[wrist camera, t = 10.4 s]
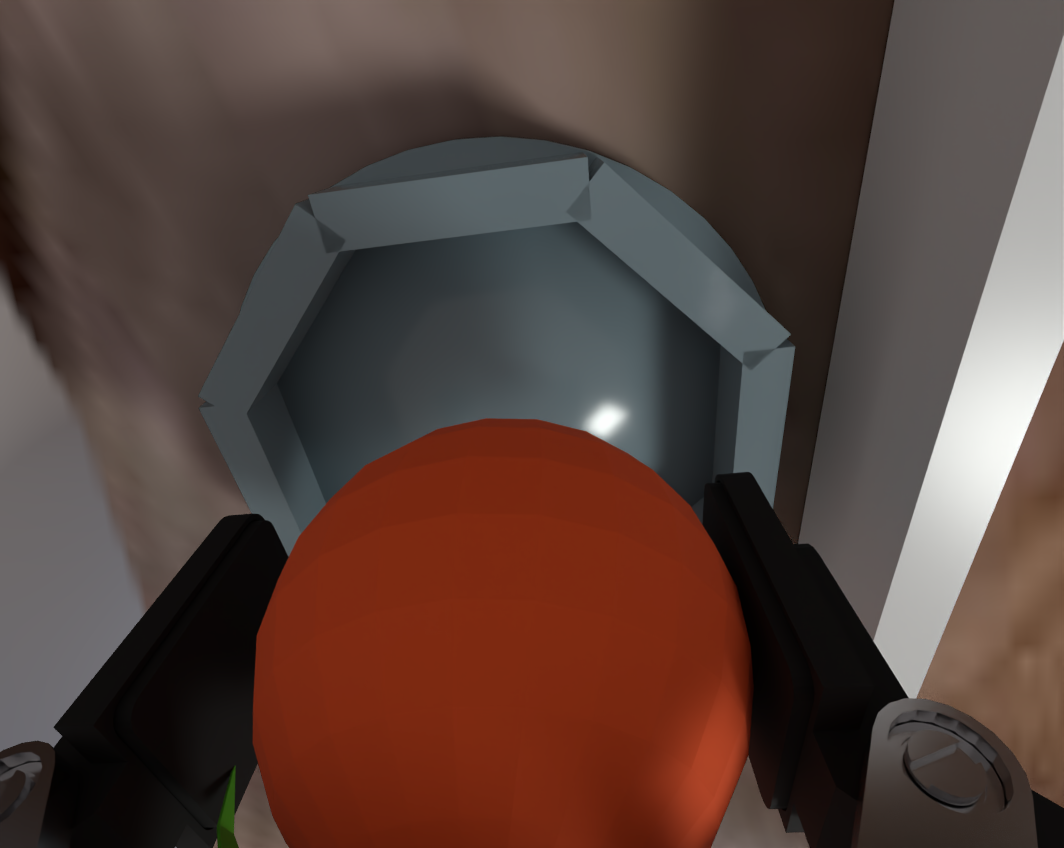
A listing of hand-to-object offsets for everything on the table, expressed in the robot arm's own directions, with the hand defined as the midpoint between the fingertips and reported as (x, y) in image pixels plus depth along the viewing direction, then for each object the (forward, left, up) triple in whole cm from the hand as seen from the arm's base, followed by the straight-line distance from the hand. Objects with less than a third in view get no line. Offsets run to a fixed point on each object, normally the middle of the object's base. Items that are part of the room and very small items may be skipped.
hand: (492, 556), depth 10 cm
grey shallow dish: (0, 0, -5) cm, 5 cm away
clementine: (0, 0, -2) cm, 2 cm away
